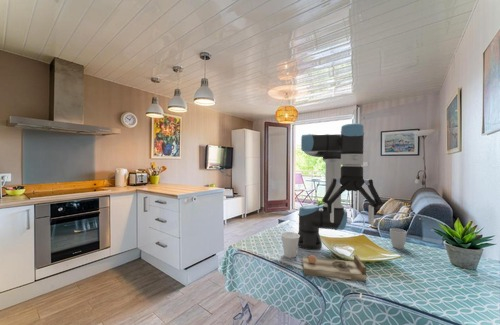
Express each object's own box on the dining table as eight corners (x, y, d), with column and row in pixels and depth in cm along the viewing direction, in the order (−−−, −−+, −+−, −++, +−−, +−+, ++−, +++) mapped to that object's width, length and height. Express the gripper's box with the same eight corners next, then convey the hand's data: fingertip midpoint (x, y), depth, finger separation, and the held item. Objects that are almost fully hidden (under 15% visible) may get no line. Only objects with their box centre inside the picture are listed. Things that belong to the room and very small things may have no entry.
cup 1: (300, 253, 112) (300, 232, 113) (299, 261, 103) (299, 239, 103) (281, 250, 115) (281, 231, 115) (279, 258, 106) (279, 237, 106)
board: (302, 261, 102) (302, 250, 103) (356, 267, 98) (356, 255, 98) (304, 274, 91) (304, 261, 91) (365, 281, 86) (366, 267, 86)
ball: (307, 260, 98) (307, 253, 98) (315, 261, 97) (315, 254, 97) (308, 264, 94) (308, 256, 94) (316, 265, 94) (316, 257, 94)
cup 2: (409, 248, 120) (409, 231, 121) (400, 250, 117) (400, 233, 118) (395, 243, 128) (395, 227, 128) (386, 245, 125) (386, 228, 125)
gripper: (318, 165, 75) (317, 223, 75) (393, 166, 71) (393, 228, 71) (315, 165, 83) (314, 218, 83) (383, 166, 78) (383, 222, 78)
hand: (351, 222), depth 77 cm, fingers open, 13 cm apart
